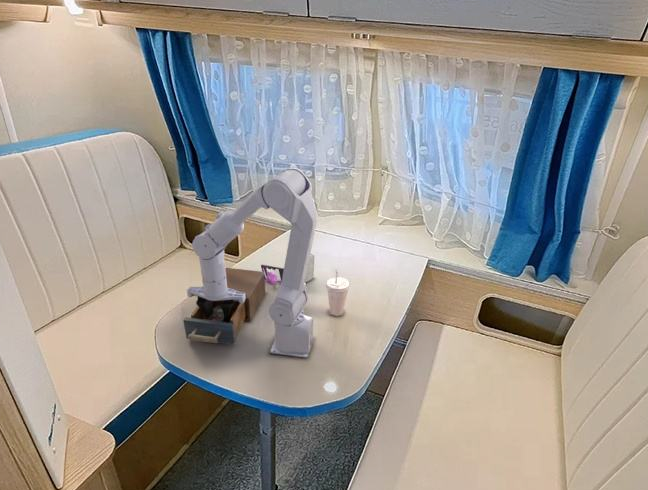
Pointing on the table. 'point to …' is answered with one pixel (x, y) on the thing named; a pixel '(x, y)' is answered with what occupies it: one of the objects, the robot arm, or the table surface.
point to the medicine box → (310, 269)
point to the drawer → (215, 325)
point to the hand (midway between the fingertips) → (219, 321)
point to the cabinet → (247, 287)
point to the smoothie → (337, 294)
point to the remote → (217, 314)
